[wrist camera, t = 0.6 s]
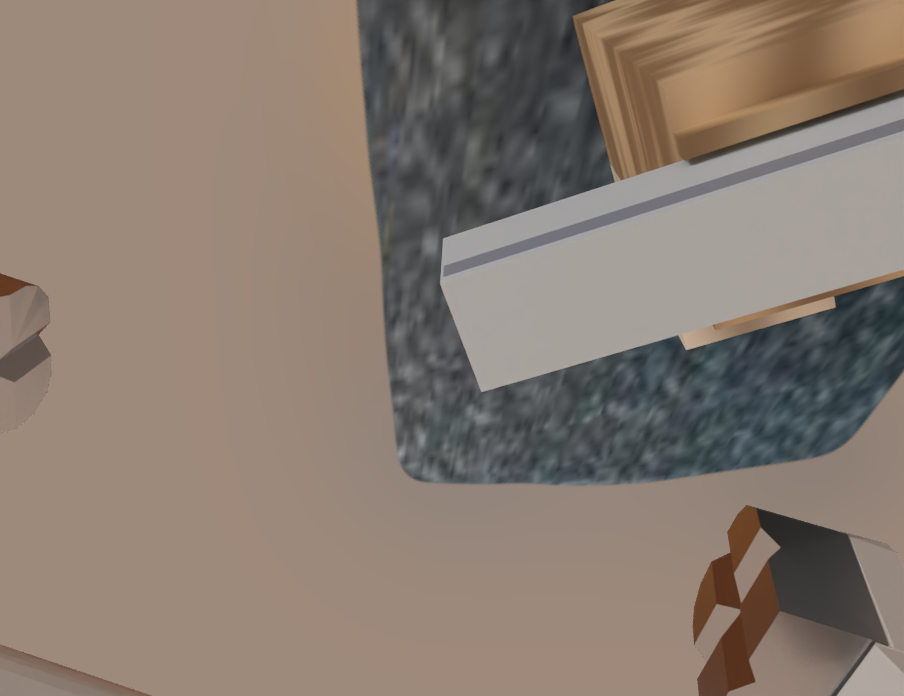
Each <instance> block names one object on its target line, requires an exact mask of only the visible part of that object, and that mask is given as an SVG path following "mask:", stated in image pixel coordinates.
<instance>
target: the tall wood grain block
mask: <svg viewBox="0 0 904 696" xmlns="http://www.w3.org/2000/svg"><path fill="white" fill-rule="evenodd" d="M572 18H573V21H574V25H575V29H576V33H577V37H578V41H579V45H580V49H581V53H582V56H583V60H584V64H585V68H586V72H587V76H588V80H589V84H590V88H591V91H592V95H593V99H594V103H595V107H596V111H597V115H598V119H599V123H600V126H601V130H602V134H603V138H604V142H605V146H606V150H607V154H608V158H609V161H610V165H611V169H612V173H613V177H614V181H615V182H618V181H621V180H624V179H627V178H630V177H633V176H636V175H640V174H643V173H646V172H649V171H652V170H655V169H658V168H661V167H664V166H667V165H670V164H673V163H676V162H679V161H682V160H684V161H685V160H688V159H691V158H694V157H697V156H700V155H703V154H706V153H709V152H712V151H715V150H718V149H721V148H724V147H728V146H731V145H734V144H737V143H740V142H743V141H746V140H749V139H752V138H755V137H758V136H761V135H764V134H767V133H770V132H774V131H777V130H780V129H783V128H786V127H789V126H792V125H795V124H798V123H801V122H804V121H807V120H810V119H813V118H816V117H820V116H823V115H826V114H829V113H832V112H835V111H838V110H841V109H844V108H847V107H850V106H853V105H856V104H859V103H862V102H866V101H869V100H872V99H875V98H878V97H881V96H884V95H887V94H890V93H893V92H896V91H899V90H902V89H904V0H615V1H612V2H609V3H606V4H604V5H601V6H598V7H596V8H593V9H590V10H587V11H585V12H582V13H579V14H576V15H574V16H572ZM902 276H904V270H900V271H897V272H894V273H890V274H887V275H883V276H880V277H876V278H873V279H869V280H866V281H863V282H859V283H856V284H852V285H849V286H845V287H842V288H838V289H835V290H832V291H828V292H825V293H821V294H818V295H814V296H811V297H807V298H804V299H801V300H797V301H794V302H790V303H787V304H783V305H780V306H776V307H773V308H770V309H766V310H763V311H759V312H756V313H752V314H749V315H745V316H742V317H738V318H735V319H732V320H728V321H725V322H721V323H718V324H714V325H711V326H707V327H704V328H701V329H697V330H694V331H690V332H687V333H683V334H680V335H678V336H679V337H680V339H681V341H682V343H683V345H684V347H685V349H686V350H688V349H692V348H695V347H699V346H702V345H706V344H709V343H713V342H716V341H720V340H723V339H726V338H730V337H733V336H737V335H740V334H744V333H747V332H751V331H754V330H758V329H761V328H765V327H768V326H772V325H775V324H779V323H782V322H786V321H789V320H793V319H796V318H800V317H803V316H807V315H810V314H814V313H817V312H821V311H824V310H828V309H831V308H835V300H834V296H836V295H840V294H843V293H847V292H850V291H854V290H857V289H860V288H864V287H867V286H871V285H874V284H878V283H881V282H885V281H888V280H892V279H895V278H899V277H902Z"/></svg>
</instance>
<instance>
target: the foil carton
mask: <svg viewBox="0 0 904 696" xmlns="http://www.w3.org/2000/svg"><path fill="white" fill-rule="evenodd" d="M900 270H904V89H902V90H899V91H896V92H893V93H890V94H887V95H884V96H881V97H878V98H875V99H872V100H869V101H866V102H862V103H859V104H856V105H853V106H850V107H847V108H844V109H841V110H838V111H835V112H832V113H829V114H826V115H823V116H820V117H816V118H813V119H810V120H807V121H804V122H801V123H798V124H795V125H792V126H789V127H786V128H783V129H780V130H777V131H774V132H770V133H767V134H764V135H761V136H758V137H755V138H752V139H749V140H746V141H743V142H740V143H737V144H734V145H731V146H728V147H724V148H721V149H718V150H715V151H712V152H709V153H706V154H703V155H700V156H697V157H694V158H691V159H688V160H685V161H684V160H682V161H679V162H676V163H673V164H670V165H667V166H664V167H661V168H658V169H655V170H652V171H649V172H646V173H643V174H640V175H636V176H633V177H630V178H627V179H624V180H621V181H618V182H615V183H612V184H609V185H606V186H603V187H600V188H597V189H594V190H590V191H587V192H584V193H581V194H578V195H575V196H572V197H569V198H566V199H563V200H560V201H557V202H554V203H551V204H548V205H545V206H541V207H538V208H535V209H532V210H529V211H526V212H523V213H520V214H517V215H514V216H511V217H508V218H505V219H502V220H499V221H495V222H492V223H489V224H486V225H483V226H480V227H477V228H474V229H471V230H468V231H465V232H462V233H459V234H456V235H453V236H449V237H446V238H443V249H442V264H441V278H440V285H441V287H442V290H443V293H444V295H445V298H446V301H447V303H448V306H449V308H450V311H451V314H452V316H453V319H454V321H455V324H456V327H457V329H458V332H459V334H460V337H461V340H462V342H463V345H464V348H465V350H466V353H467V355H468V358H469V361H470V363H471V366H472V368H473V371H474V374H475V376H476V379H477V381H478V384H479V387H480V389H481V392H483V391H487V390H490V389H494V388H497V387H501V386H504V385H508V384H511V383H514V382H518V381H521V380H525V379H528V378H532V377H535V376H539V375H542V374H545V373H549V372H552V371H556V370H559V369H563V368H566V367H570V366H573V365H577V364H580V363H583V362H587V361H590V360H594V359H597V358H601V357H604V356H608V355H611V354H614V353H618V352H621V351H625V350H628V349H632V348H635V347H639V346H642V345H645V344H649V343H652V342H656V341H659V340H663V339H666V338H670V337H673V336H676V335H680V334H683V333H687V332H690V331H694V330H697V329H701V328H704V327H707V326H711V325H714V324H718V323H721V322H725V321H728V320H732V319H735V318H738V317H742V316H745V315H749V314H752V313H756V312H759V311H763V310H766V309H770V308H773V307H776V306H780V305H783V304H787V303H790V302H794V301H797V300H801V299H804V298H807V297H811V296H814V295H818V294H821V293H825V292H828V291H832V290H835V289H838V288H842V287H845V286H849V285H852V284H856V283H859V282H863V281H866V280H869V279H873V278H876V277H880V276H883V275H887V274H890V273H894V272H897V271H900Z"/></svg>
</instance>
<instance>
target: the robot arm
mask: <svg viewBox="0 0 904 696" xmlns="http://www.w3.org/2000/svg"><path fill="white" fill-rule="evenodd" d="M49 323H50V312H49V299H48V296H47V295H46V294H45V293H44V292H43V291H42V289H41V288H40V287H39V286H37V285H34V284H31V283H28V282H24V281H22V280H19V279H15V278H12V277H10V276H6V275H3V274H0V433H3V432H6V431H10V430H13V429H17V428H18V427H19V426H21V425H22V424H23V423H24V422H25V421H26V420H28V419H29V418H30V417H31V416H32V415H33V414H34V413H35V411H36V410H37V408H38V407H39V405H40V403H41V402H42V400H43V398H44V397H45V395H46V393H47V390H48V386H49V381H50V377H51V354H50V353H49V351H48V349H47V348H46V346H45V345H44V343H43V341H42V340H41V338H40V337H39V334H40V333H41V331H43V329H44V328H45V327H46V326H47V325H48V324H49ZM728 539H729V545H730V553H728V554H726V555H724V556H722V557H720V558H718V559H716V560H714V561H712V562H711V563H710V566H709V568H708V570H707V572H706V574H705V576H704V578H703V580H702V582H701V584H700V587H699V591H698V595H697V598H696V602H695V606H694V615H693V637H694V645H695V647H696V648H697V649H698V651H699V652H700V653H701V655H702V656H703V658H704V659H705V660H706V662H707V663H706V665H705V666H704V668H703V670H702V672H701V673H700V675H699V677H698V679H697V681H698V691H699V696H904V567H903V565H902V563H901V560H900V558H899V556H898V554H897V552H896V551H895V550H893V549H892V548H891V547H890V546H889V545H888V544H886V543H882V542H878V541H874V540H871V539H867V538H863V537H860V536H856V535H852V534H849V533H845V532H841V531H840V532H839V531H835V530H831V529H828V528H824V527H821V526H818V525H814V524H811V523H807V522H804V521H800V520H797V519H793V518H790V517H787V516H783V515H779V514H776V513H773V512H769V511H766V510H762V509H759V508H755V507H752V506H748V505H746V506H745V507H744V508H743V509H742V510H741V511H740V512H739V513H738V514H737V516H736V518H735V520H734V521H733V523H732V525H731V527H730V528H729V530H728ZM0 696H151V695H148V694H146V693H142V692H140V691H136V690H134V689H131V688H128V687H125V686H122V685H119V684H116V683H113V682H110V681H107V680H104V679H101V678H98V677H95V676H92V675H89V674H86V673H83V672H80V671H77V670H74V669H71V668H68V667H65V666H63V665H59V664H57V663H54V662H51V661H48V660H45V659H42V658H39V657H36V656H33V655H30V654H27V653H24V652H21V651H18V650H15V649H12V648H9V647H6V646H3V645H0Z"/></svg>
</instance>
